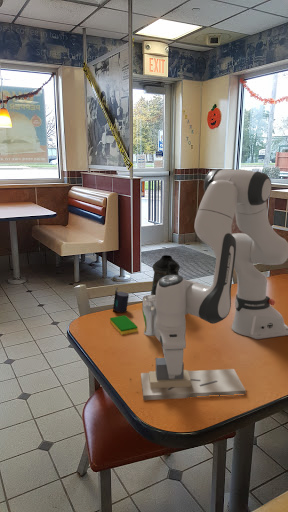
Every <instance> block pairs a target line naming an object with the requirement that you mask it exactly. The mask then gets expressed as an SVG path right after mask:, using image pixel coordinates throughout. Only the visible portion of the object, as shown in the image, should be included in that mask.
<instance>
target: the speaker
mask: <svg viewBox="0 0 288 512" xmlns="http://www.w3.org/2000/svg"><path fill="white" fill-rule="evenodd" d="M118 289H119V287H118V286H116V288H115V291H114V292H115V293H114V301H113V309H112V312H113V313H114V311H116V312H117V313H122V314H123V313H126V312H127V309H128V304H129V298H130V297H129V296H130V295H129V293H127V292H125V291H118Z"/></svg>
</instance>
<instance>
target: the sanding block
mask: <svg viewBox="0 0 288 512" xmlns="http://www.w3.org/2000/svg"><path fill="white" fill-rule="evenodd" d="M184 366H185V363H184V362H183V365H182V372H181V375H176V376H175V378H174V379H169V376H168V371H167V366H166V362H165V357H155V370H154V371H152V370H150V371H148V373H149V381H150V388H169V387H191V380H190V377H189V373H188V371H189V370H188V369H185V367H184Z"/></svg>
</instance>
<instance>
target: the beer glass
mask: <svg viewBox="0 0 288 512" xmlns="http://www.w3.org/2000/svg"><path fill="white" fill-rule="evenodd" d="M155 296H156V295H151V294H146V295H144V296H142V307H141V309H142V316H143V322H144V328H143V329H144V330H143V334H144V335H145V336H147V337H156V325H155V320H156V316H157V311H156V308H155Z"/></svg>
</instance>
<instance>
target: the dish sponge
mask: <svg viewBox="0 0 288 512" xmlns="http://www.w3.org/2000/svg"><path fill="white" fill-rule="evenodd" d="M109 322H111V323H110V324H111V325H112V326H113V327H114V328H115V329H116V331H118V333H119V334H120V335H121V336H124V335H127V334H128V335H129V334H133V333H138V330H139V329H138V325H136V324H135V323H134V322H133V321H132V320H131V319H130V318H129V317H128V316H127V315H125V314H124V315H119V316H113V317H110V318H109Z"/></svg>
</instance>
